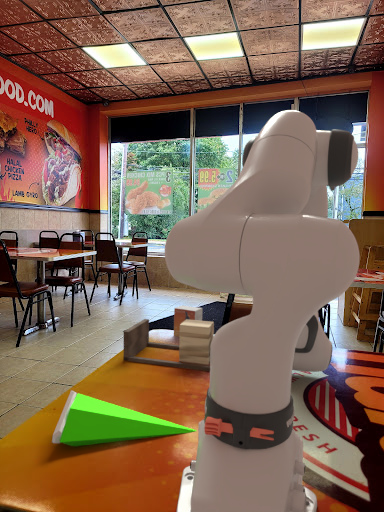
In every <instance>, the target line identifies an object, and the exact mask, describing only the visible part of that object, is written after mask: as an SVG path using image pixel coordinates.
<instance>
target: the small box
mask: <svg viewBox="0 0 384 512" xmlns="http://www.w3.org/2000/svg"><path fill="white" fill-rule="evenodd" d="M173 313H174V315H173V337H177V338H180V336H179V332H180V324H181V323H183V322H184V321H185V320H186V319H187V320H198V321H203V308H202V307H197V306H188V305H179V306H177V307H174V312H173Z"/></svg>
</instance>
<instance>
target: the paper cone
mask: <svg viewBox="0 0 384 512" xmlns="http://www.w3.org/2000/svg"><path fill="white" fill-rule="evenodd" d="M195 432H198V431H197V430H196V429H193V428H191V427H186V426H184V425H181V424H177V423H174V422H171V421H168V420H165V419H161V418H159V417H155V416H151V415H149V414H144V413H143V412H139V411H135V410H133V409H130V408H127V407H123V406H120V405H116V404H114V403H110V402H107V401H104V400H100V399H97V398H95V397H92V396H89V395H86V394H82V393H79V392H76V391H74V390H72V389H71V390H70V393H69V395H68V397H67V400H66V402H65V405H64V407H63V409H62V412H61V414H60V417H59V420H58V421H57V424H56V427H55V429H54V432H53V434H52V437H51V438H52V440H51V443H53V444H64V445H67V446H71V447H80V446H90V445H98V444H105V443H115V442H121V441H123V442H124V441H131V440H140V439H148V438H156V437H164V436H165V437H166V436H172V435H173V436H174V435H180V434H188V433H189V434H190V433H195Z"/></svg>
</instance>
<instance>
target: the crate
mask: <svg viewBox="0 0 384 512" xmlns="http://www.w3.org/2000/svg"><path fill="white" fill-rule="evenodd" d="M214 335H215V322H214V321H210V320H209V321H208V320H202V321H198V320H187V319H186V320H185V321H184V322H183V323H181V324H180V332H179V336H180V337H179V342H178V343H179V344H178V345H179V350H178V354H179V355H178V357H179V359H178V362H182V363H191V364H199V365H207V366H209V365H210V346H211V342H212V339H213V337H214Z"/></svg>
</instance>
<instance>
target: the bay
mask: <svg viewBox="0 0 384 512" xmlns="http://www.w3.org/2000/svg"><path fill="white" fill-rule="evenodd" d="M147 347H151V348H152V347H153V348H161V349H170V350H177V351H179V344H174V343H173V344H171V343H161V342H153V341H150V319H148V318H144V319H142V320H140V321H139V322H137V323H136V324H134V325H132V326H131V327H129V328H126V329H125V330H124V331H123V361H126V362H127V361H128V362H135V363H141V364H149V365H156V366H157V365H158V366H164V367H172V368H180V369H181V368H182V369H189V370H195V371H205V372H210V365H205V364H197V363H189V362H181V361H175V360H174V361H172V360H166V359H157V358H150V357H140V356H136V355H138V354H139V353H141V351H143V350H144V349H146V348H147Z"/></svg>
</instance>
